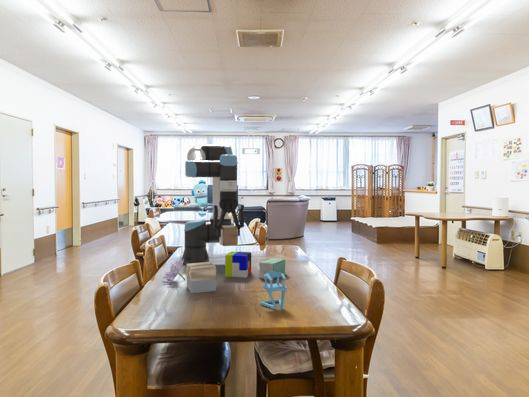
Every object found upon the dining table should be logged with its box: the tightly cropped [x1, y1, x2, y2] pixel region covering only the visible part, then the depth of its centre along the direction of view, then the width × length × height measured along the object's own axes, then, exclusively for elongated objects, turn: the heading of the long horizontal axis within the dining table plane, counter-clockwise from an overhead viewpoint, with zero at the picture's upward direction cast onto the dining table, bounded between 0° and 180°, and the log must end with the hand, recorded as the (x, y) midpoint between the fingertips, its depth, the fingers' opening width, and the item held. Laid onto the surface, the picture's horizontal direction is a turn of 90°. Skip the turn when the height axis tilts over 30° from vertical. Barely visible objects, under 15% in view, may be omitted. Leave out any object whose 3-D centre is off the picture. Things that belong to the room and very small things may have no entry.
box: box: [258, 257, 286, 281], centre depth 177 cm, size 7×14×8 cm, turn 153°
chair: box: [259, 271, 288, 311], centre depth 133 cm, size 8×8×12 cm
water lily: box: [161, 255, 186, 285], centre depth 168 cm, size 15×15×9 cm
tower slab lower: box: [186, 276, 217, 294], centre depth 155 cm, size 10×10×5 cm
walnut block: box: [221, 224, 238, 247], centre depth 164 cm, size 6×6×8 cm
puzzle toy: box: [224, 251, 252, 278], centre depth 180 cm, size 10×10×10 cm
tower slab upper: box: [186, 261, 217, 281], centre depth 155 cm, size 10×10×5 cm
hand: (228, 244), depth 164 cm, fingers closed on walnut block, 6 cm apart
